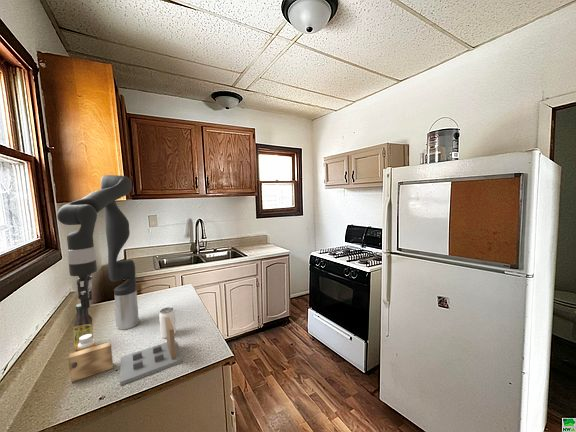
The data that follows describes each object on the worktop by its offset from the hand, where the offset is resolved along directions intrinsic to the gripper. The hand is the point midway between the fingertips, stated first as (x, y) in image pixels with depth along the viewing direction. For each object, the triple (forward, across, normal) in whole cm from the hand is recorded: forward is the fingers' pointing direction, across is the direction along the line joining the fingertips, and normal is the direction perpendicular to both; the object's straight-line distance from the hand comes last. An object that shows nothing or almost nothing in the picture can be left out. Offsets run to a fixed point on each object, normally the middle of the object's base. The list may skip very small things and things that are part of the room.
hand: (87, 304), depth 89 cm
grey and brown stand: (+26, -6, -17) cm, 32 cm away
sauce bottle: (+26, +20, +4) cm, 34 cm away
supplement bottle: (+26, +11, +3) cm, 29 cm away
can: (+26, +10, -27) cm, 39 cm away
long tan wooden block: (+26, 0, 0) cm, 26 cm away
